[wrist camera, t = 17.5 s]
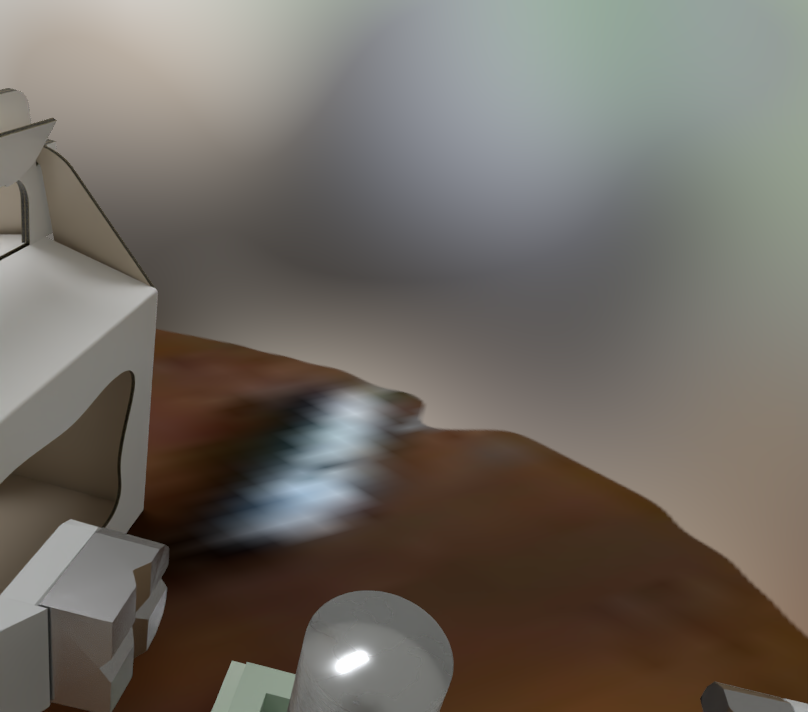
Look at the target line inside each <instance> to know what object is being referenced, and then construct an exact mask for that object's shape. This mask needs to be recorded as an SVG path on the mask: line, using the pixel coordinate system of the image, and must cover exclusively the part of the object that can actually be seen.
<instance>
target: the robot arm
mask: <svg viewBox="0 0 808 712" xmlns="http://www.w3.org/2000/svg"><path fill="white" fill-rule="evenodd" d="M168 565H169V547H167V546H166V545H165V544H161V543H157V542H154V541H150V540H147V539H143V538H139V537H136V536H132V535H129V534H125V533H121V532H118V531H114V530H111V529H107V528H101V527H97V526H93V525H90V524H86V523H83V522H79V521H76V520H72V519H70V520H68V521H66V522H64V523H63V524H61V525H60V526H59V527H58V528H57V529H56V530H55V532H54V533H53V534H52V535H51V536H50V537H49V539H48V540H47V541H46V542H45V543H44V544H43V546H42V547H41V548H40V549H39V550H38V551H37V553H36V554H35V555H34V556H33V557H32V558H31V560H30V561H29V562H28V563H27V564H26V565H25V566H24V568H23V569H22V570H21V571H20V572H19V573H18V575H17V576H16V577H15V578H14V579H13V580H12V582H11V583H10V584H9V585H8V586H7V587H6V589H5V590H4V591H3V592H2V593H1V594H0V712H42V711H43V710H45V709H46V708H48V707H49V706H50V702H52V703H57V704H61V705H66V706H70V707H74V708H79V709H83V710H88V711H92V712H112V711H113V709H114V708H115V706H116V704H117V702H118V701H119V699H120V697H121V695H122V693H123V692H124V690H125V688H126V686H127V685H128V683H129V681H130V679H131V678H132V673H133V658H135V657H136V656H138V655H140V654H142V653H144V652H145V651H147V649H148V647H149V645H150V643H151V641H152V640H153V638H154V636H155V634H156V631H157V629H158V626H159V623H160V621H161V618H162V615H163V611H164V607H165V602H166V594H167V586H166V585H165V583H164V582H163V580H162V579H161V577H162V575H163V574H164V572H165V570H166V569H167V567H168ZM700 700H701V704H702V708H703V711H704V712H808V704H805V703H801V702H797V701H793V700H789V699H781V698H780V697H776V696H772V695H768V694H764V693H759V692H755V691H751V690H747V689H743V688H739V687H734V686H730V685H726V684H722V683H718V682H714V683H712V684H711V685H709V686H708V687H707V688H706V690H705V691H704V693H703V695H702V696H701V698H700Z"/></svg>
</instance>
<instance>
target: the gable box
mask: <svg viewBox="0 0 808 712" xmlns="http://www.w3.org/2000/svg"><path fill="white" fill-rule="evenodd" d="M55 123H56V120H55V119H54V118H50V119H47V120H44V121H40V122H37V123H33V124H31V118H30V110H29V104H28V100H27V98H26V96H25V95H24V94H23V93H22V92H21V91H17V90H14V89H10V88H7V89H2V90H0V594H1V593H2V592H3V591H4V590H5V589H6V587H7V586H8V585H9V584H10V583H11V582H12V580H13V579H14V578H15V577H16V576H17V575H18V573H19V572H20V571H21V570H22V569H23V568H24V566H25V565H26V564H27V563H28V562H29V561H30V560H31V558H32V557H33V556H34V555H35V554H36V553H37V551H38V550H39V549H40V548H41V547H42V546H43V544H44V543H45V542H46V541H47V540H48V539H49V537H50V536H51V535H52V534H53V533H54V532H55V530H56V529H57V528H58V527H59V526H60V525H61V524H63V523H64V522H66V521H68V520H70V519H72V520H76V521H79V522H83V523H86V524H90V525H93V526H97V527H101V528H107V529H111V530H114V531H118V532H121V533H125V534H126V533H127V532H128V530H129V529H130V527H131V526H132V525H133V523H134V522H135V520H136V519H137V518H138V516H139V515H140V514H141V512H142V511H143V507H144V492H145V477H146V462H147V447H148V432H149V417H150V402H151V387H152V372H153V358H154V343H155V327H156V313H157V298H158V292H157V290H156V289H155V288H154V286H153V284H152V283H151V281H150V280H149V279H148V277H147V275H146V274H145V273H144V271H143V270H142V268H141V267H140V265H139V264H138V262H137V261H136V259H135V258H134V256H133V255H132V254H131V252H130V251H129V249H128V248H127V246H126V245H125V243H124V242H123V240H122V239H121V238H120V236H119V234H118V233H117V232H116V230H115V229H114V227H113V226H112V224H111V223H110V221H109V220H108V218H107V217H106V215H105V214H104V212H103V211H102V210H101V208H100V207H99V205H98V204H97V202H96V201H95V199H94V198H93V196H92V195H91V193H90V192H89V191H88V189H87V188H86V186H85V185H84V183H83V182H82V180H81V179H80V177H79V176H78V174H77V173H76V172H75V170H74V169H73V167H72V166H71V165H70V163H69V162H68V161H67V160H66V159H65V158H64V157H62V156H61V155H60V154H59V153H58V152H57V150H56V149H57V148H56V141H52V140H49V139H47V138H48V136H49V134H50V133H51V131H52V129H53V127H54V125H55ZM51 233H53V235H54V240H52V239H50V238H48V237H46V236H47V235H49V234H51Z"/></svg>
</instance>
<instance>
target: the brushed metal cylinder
mask: <svg viewBox="0 0 808 712" xmlns="http://www.w3.org/2000/svg"><path fill="white" fill-rule="evenodd" d="M452 674H453V655H452V651H451V647H450V644H449V642H448V639H447V637H446V635H445V634H444V632H443V630H442V629H441V627H440V626H439V625H438V623H437V622H436V621H435V620H434V619H433V618H432V617H431V616H430V615H429V614H428V613H427V612H425V611H424V610H423V609H421V608H420V607H419V606H417V605H416V604H414V603H412V602H410V601H408V600H406V599H404V598H402V597H399V596H396V595H393V594H390V593H385V592H379V591H355V592H350V593H346V594H343V595H340V596H338V597H336V598H334V599H332V600H330V601H329V602H327V603H325V604H324V605H323V606H322V607H321V608H320V609H319V610H318V611H317V612H316V613H315V614H314V616H313V617H312V619H311V620H310V622H309V625H308V627H307V629H306V634H305V638H304V642H303V646H302V651H301V655H300V659H299V663H298V667H297V672H296V676H295V680H294V684H293V688H292V693H291V697H290V701H289V705H288V709H287V712H439V710H440V708H441V705H442V703H443V700H444V697H445V695H446V692H447V690H448V687H449V685H450V682H451V679H452Z"/></svg>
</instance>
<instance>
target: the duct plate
mask: <svg viewBox="0 0 808 712" xmlns="http://www.w3.org/2000/svg"><path fill="white" fill-rule="evenodd" d="M295 676H296V675H295V674H291V673H287V672H284V671H280V670H276V669H272V668H268V667H265V666H261V665H257V664H253V663H249V662H247V663H246V664H243V663H239V662H235V661H232V662H231V664H230V667H229V669H228V672H227V674H226V677H225V679H224V682H223V684H222V687H221V689H220V692H219V694H218V697H217V699H216V701H215V704H214V706H213V709H212V711H211V712H287V709H288V705H289V701H290V697H291V693H292V688H293V684H294V680H295Z"/></svg>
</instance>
